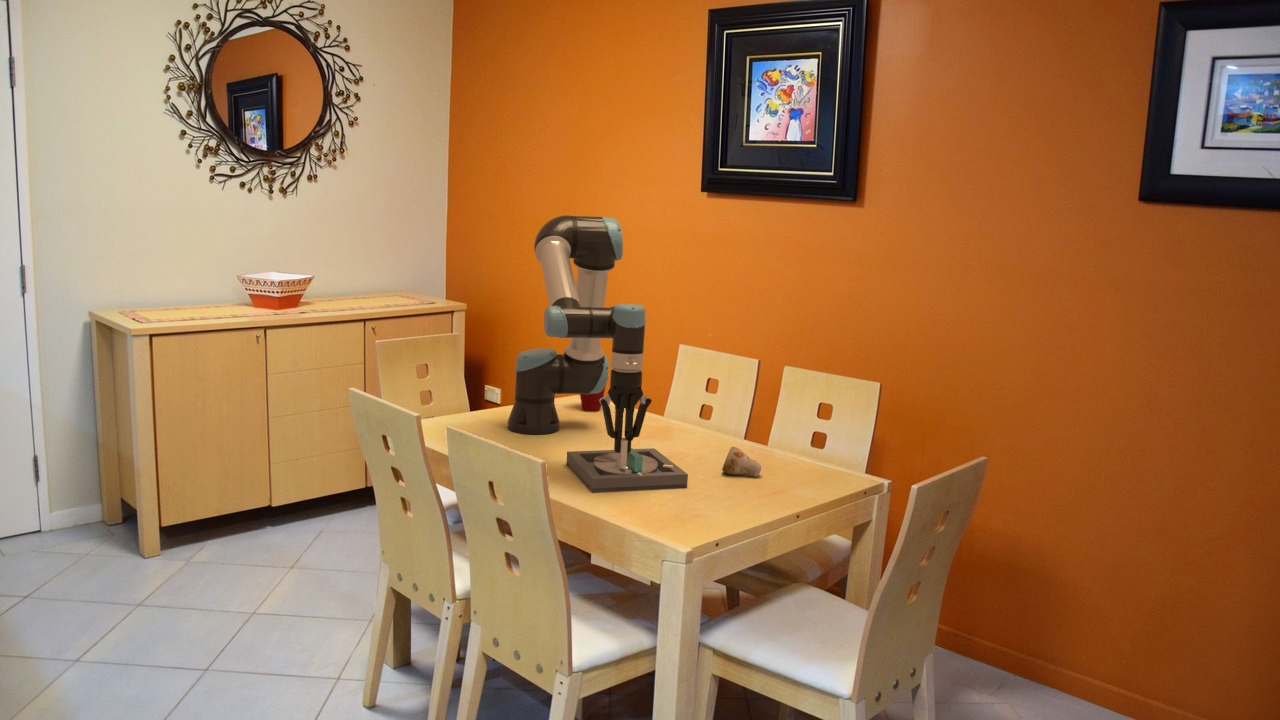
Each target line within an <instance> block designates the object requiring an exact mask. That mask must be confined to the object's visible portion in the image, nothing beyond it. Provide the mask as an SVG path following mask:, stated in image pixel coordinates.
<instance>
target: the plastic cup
mask: <svg viewBox="0 0 1280 720" xmlns="http://www.w3.org/2000/svg"><path fill="white" fill-rule="evenodd" d="M609 378H610V375H609V374H608V378H607V380H608V379H609ZM607 383H608V382H606V385H605V387H604V389H603V390H602V391H601V392H600V393H596V394H588V395H586V394H579V395H580V397H579V398H580V402H581V403H580V404H581V409H583V410H584V412H587V411H598V412H599V410H600V411H601V408H602V406H601V404H600V402H599V401H598V399H599V398H600V397H602V398H603V397H604V395H605V390H606V386H607ZM583 410H582V411H583Z"/></svg>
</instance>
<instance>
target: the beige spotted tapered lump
mask: <svg viewBox="0 0 1280 720" xmlns="http://www.w3.org/2000/svg"><path fill="white" fill-rule="evenodd" d="M721 469H722V472H724V473H725V474H726V475H731V476H732V475H733V476H734V475H737V476H738V475H743V476H744V475H745V476H749V477H751V478H752V477H753V478H756V477H759V475H760V473H761V471H762V465H761V463H760V462H758V461H756V460H753V459H752V458H750V457H749V456H748V455H747V454H746V453H745V452H744V451H743V450H741V449H740V448H739V447H735V446H731V447H730V449H729V450H728V453H727V455H726V458H725V460H724V463H723V465H722V468H721Z"/></svg>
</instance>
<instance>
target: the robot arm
mask: <svg viewBox="0 0 1280 720" xmlns="http://www.w3.org/2000/svg"><path fill="white" fill-rule="evenodd" d="M623 239H624V238H623V232H622V227H621V223H619V221H618V220H617V219H616V218H613V217H604V216H588V215H586V216H585V215H566V214H564V215H559V216H556V217H554V218H552V219H550V220H548V221H547V222H546V223H545V224H543V226H542V227H541V228H540V229H539V230H538V233H537V234H536V237H535V240H534V245H533V246H534V247H533V248H534V255H535V259H536V260H537V261H538V262H539V263H540V265H541V270H542V275H543V279H544V284H545V290H546V295H547V299H548V305H549V306H547V307H546V308H545V309H544V313H543V329H544V334H545V335H546V336H547V337H551V338H559V339H569V338H570V343H569V344H568V345H566V346H565V347H564V353H563V354H562V353H561V354H558V352H557V350H555V349H554V348H535V349H529V350H525V351H521V352H520V353H519V354H518V355H517V357H516V361H515V362H516V363H515V368H514V371H515V381H514V382H515V384H514V401H513V402H514V404H513V406H512V409H511V411H510V414H509V416H508V418H507V419H508V420H507V429H508V430H509V431H512V432H515V433H519V434H524V435H548V434H552V433H553V434H554V433H557V432H558V431H559V430H560V419H559V415H558V412H557V411H558V410H557V409H556V404H555V399H556V398H555V396H556V395H560V394H561V395H570V394H571V395H573V394H574V395H580V394H586V395H588V394H596V393H600V392H601V391H602V390H603V389H604V387H605V388H606V386H607V383H608V382H607V381H608V379H609V377H608V375H609V367H610V366H611V368H612V369H611V370H610V381H609V382H610V383H609V385H610V386H609V389H608V392H607V394H606V395H605V396H603V398H602V397H600V398H599V399H598V401H599V402H600V404H601V408H602V412H603V413H602V414H603V419H604V424H605V429H606V434H607V436H608V437H610V438H611V439H614V445H613V446H614V447H613V450H615V452H616V453H618V456H617V464H618V465H619V466H620V467H626V463H627V452H630V451H631V448H632V441H633V440H634V439H635V438H639V437H640V434H641V431H642V427H643V424H644V420H645V417H646V413H647V410H648V407H649V406H650V405H651V403H652V399H651V398H650V397H648V396H646V395H644V392H643V388H642V385H643V383H642V382H643V372H642V370H643V365H644V349H645V347H644V346H645V334H646V333H645V331H646V323H647V319H646V309H645V306H643V305H639V304H635V303H618V304H616V305H615V306H614V305H613V306H610V307H609V306H608V307H605V305H606V297H607V296H606V295H607V287H608V280H609V278H608V277H609V272H611V271H612V270H613V269H615V265H616V264H615V263H616V261H617V262H618V261H621V260H622V259H623V255H624V241H623ZM570 259H573V260H572V261H573V262H572V263H573V265H574V266H575V267H576V268H577V276H576V277H577V278H576V280H575V277H574V272H573V269H572V264H571V260H570ZM575 281H576V282H575ZM602 339H612V340H611V342H612V345H611V362H610V361H609V358H608V356H607V355H605V352H604V349H603V348H602V347H601V341H602ZM609 362H610V365H609ZM607 378H608V379H607ZM606 382H607V383H606ZM605 385H606V386H605ZM611 402H612V403H613V405H614V409H615V410H614V413H615V414H614V415H615V416H614V423H613V417H612V410H611V408H610V404H611ZM638 402H639V405H638V408H637V412H636V415H635V420H634V414H635V413H634V412H635V406H636V405H637V404H638ZM624 413H625V414H624ZM624 415H625V416H624ZM623 425H624V437H623Z"/></svg>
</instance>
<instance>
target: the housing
mask: <svg viewBox="0 0 1280 720" xmlns="http://www.w3.org/2000/svg"><path fill="white" fill-rule="evenodd" d="M633 449H634V450H635V451H636V452H637V453H639V454H640V455H644V456H648V457H651V458H653V459H655V460H656V461H657V462H658V466H657V473H637V474H616V475H600V474H599V473H598V472H597V471H596V470H595V469H594V468H593V467H594V459H595V458H596V457H597V456H599V455H603V454H609V453H616V452H615V450H614V449H605V450H603V449H601V450H576V451H566V466H567V467H568V468H569V469H570V470H571V471H572V472H573V473H574V474H575V476H576V477H578V479H579V480H580V481H581V482H582V483H583V484H584V485H585V486H586V487H587V488H588V489H589V490H590V492H591V493H592V494H593V493H608V492H609V493H610V492H613V493H614V492H630V491H631V492H633V491H649V490H651V491H652V490H668V489H669V490H670V489H687V488H688V481H689V480H688V478H689V477H688V475H689V474H688V473H687V472H686V471H684V470H683V469H682V468H680V467H679V466H678V465H677V464H676V463H674V461H671V460H670V459H669V458H668V457H666V456H665V455H664V454H662V453H661V452H660V451H658V450H657V449H656V448H633Z"/></svg>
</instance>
